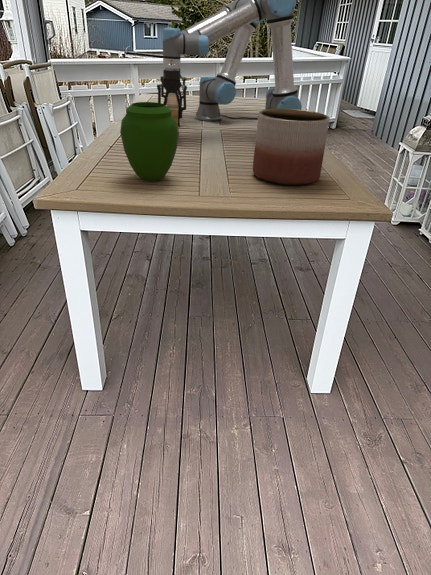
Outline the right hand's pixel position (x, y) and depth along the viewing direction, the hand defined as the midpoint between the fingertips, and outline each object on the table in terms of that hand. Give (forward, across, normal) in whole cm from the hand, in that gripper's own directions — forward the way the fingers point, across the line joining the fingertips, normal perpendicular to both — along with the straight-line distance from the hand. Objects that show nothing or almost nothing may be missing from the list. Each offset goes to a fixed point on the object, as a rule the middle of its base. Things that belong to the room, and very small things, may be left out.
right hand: (172, 125), depth 191 cm
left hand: (0, 0, +38) cm, 39 cm away
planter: (+7, +44, -51) cm, 67 cm away
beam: (+1, 0, +19) cm, 19 cm away
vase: (+8, -7, -56) cm, 57 cm away
